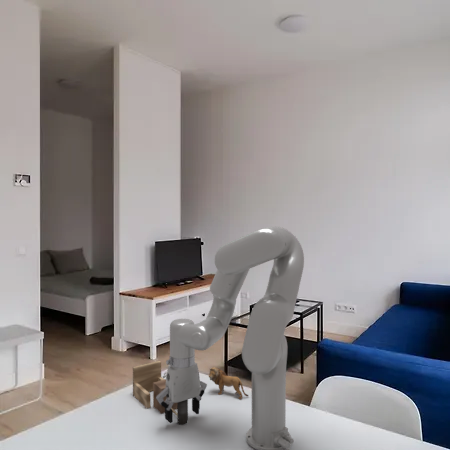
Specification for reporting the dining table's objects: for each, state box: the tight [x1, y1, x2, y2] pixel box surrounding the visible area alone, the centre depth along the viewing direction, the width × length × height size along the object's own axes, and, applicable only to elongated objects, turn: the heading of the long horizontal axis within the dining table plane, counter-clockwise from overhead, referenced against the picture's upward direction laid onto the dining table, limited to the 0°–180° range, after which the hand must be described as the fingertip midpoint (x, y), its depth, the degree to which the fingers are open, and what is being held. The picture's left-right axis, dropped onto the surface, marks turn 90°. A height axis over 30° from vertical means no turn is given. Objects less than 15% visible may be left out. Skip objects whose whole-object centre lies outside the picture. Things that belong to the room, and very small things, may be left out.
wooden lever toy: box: [152, 378, 189, 426], centre depth 128 cm, size 16×6×8 cm, turn 35°
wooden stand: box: [132, 360, 166, 409], centre depth 139 cm, size 12×10×10 cm
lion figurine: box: [208, 366, 249, 400], centre depth 142 cm, size 15×5×9 cm, turn 71°
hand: (182, 416), depth 123 cm, fingers open, 8 cm apart
